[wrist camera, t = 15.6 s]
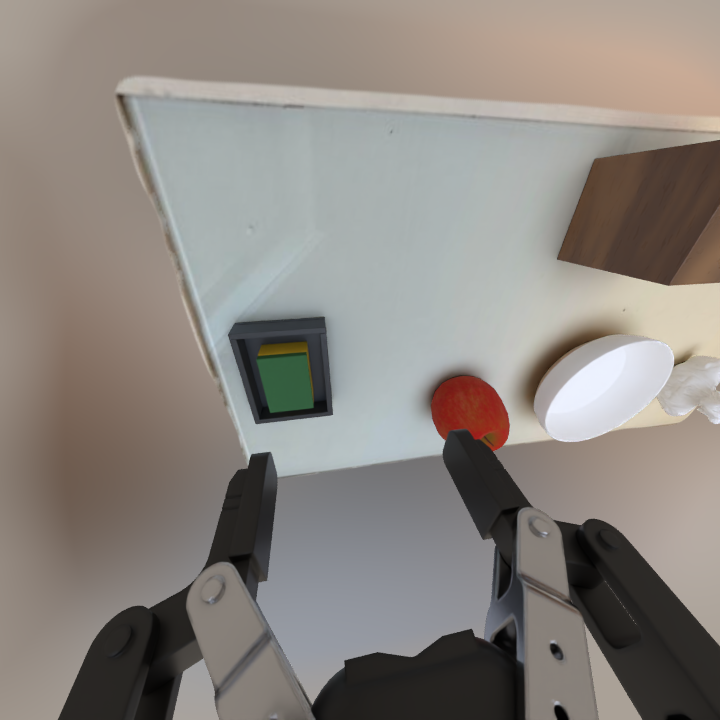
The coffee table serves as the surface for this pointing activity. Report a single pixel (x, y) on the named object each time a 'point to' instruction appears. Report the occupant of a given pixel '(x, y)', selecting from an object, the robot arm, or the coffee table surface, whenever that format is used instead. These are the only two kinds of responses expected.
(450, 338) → the coffee table surface
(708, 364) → the bust
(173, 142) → the coffee table surface
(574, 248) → the wooden block
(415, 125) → the coffee table surface
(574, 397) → the bowl
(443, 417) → the apple
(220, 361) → the coffee table surface
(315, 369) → the tray
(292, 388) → the sponge
